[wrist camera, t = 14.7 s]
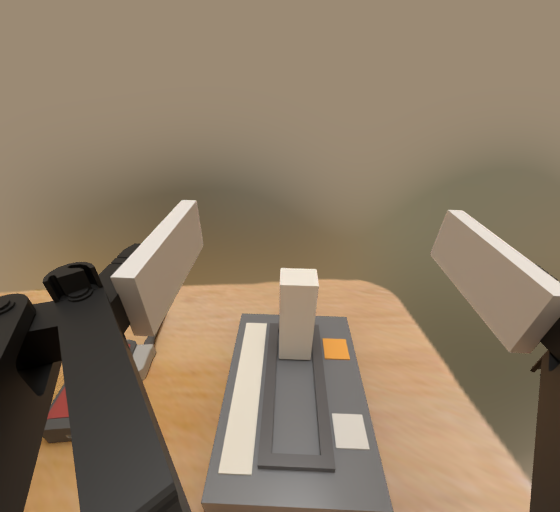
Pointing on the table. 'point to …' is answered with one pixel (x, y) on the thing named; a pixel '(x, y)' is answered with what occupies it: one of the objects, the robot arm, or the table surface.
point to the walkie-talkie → (58, 413)
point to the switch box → (295, 428)
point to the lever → (297, 312)
